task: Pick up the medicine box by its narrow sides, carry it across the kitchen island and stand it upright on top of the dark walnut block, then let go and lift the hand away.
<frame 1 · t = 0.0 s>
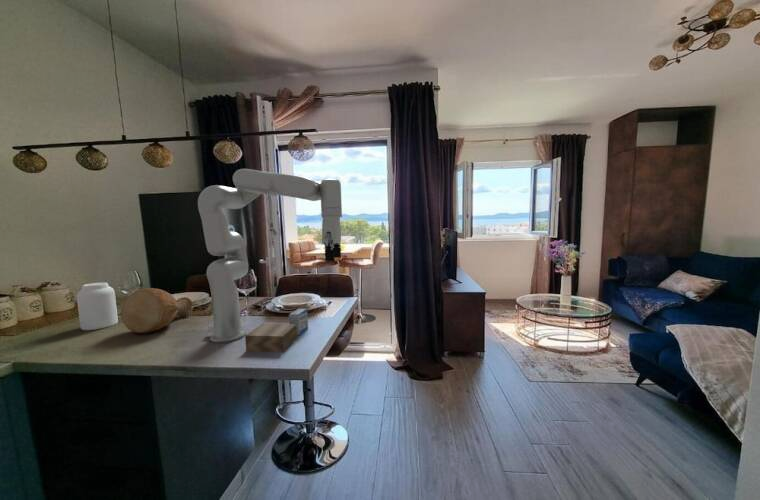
hand: (333, 259, 108), 31 cm above the table, fingers open, 9 cm apart
medicine box: (299, 331, 120), on the table
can: (100, 326, 132), on the table
jug: (164, 325, 131), on the table
walnut block: (273, 345, 107), on the table
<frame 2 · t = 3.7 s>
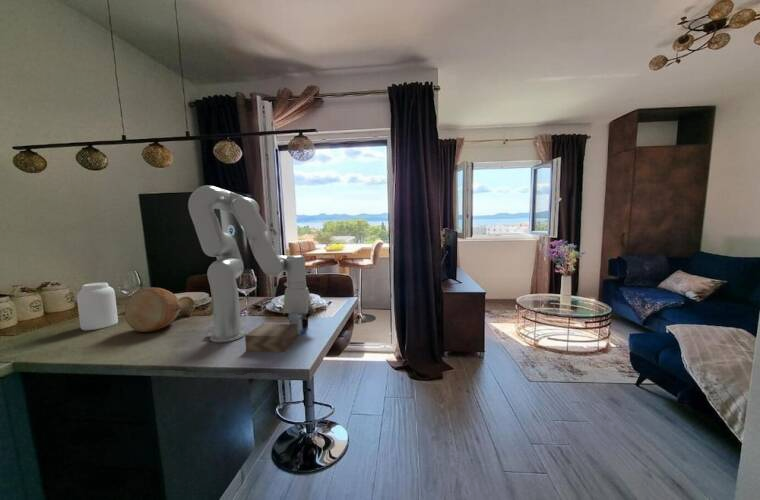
hand: (299, 327, 119), 2 cm above the table, fingers closed on medicine box, 4 cm apart
medicine box: (299, 331, 120), on the table, touching gripper
jug: (167, 324, 133), on the table
everything else where it was.
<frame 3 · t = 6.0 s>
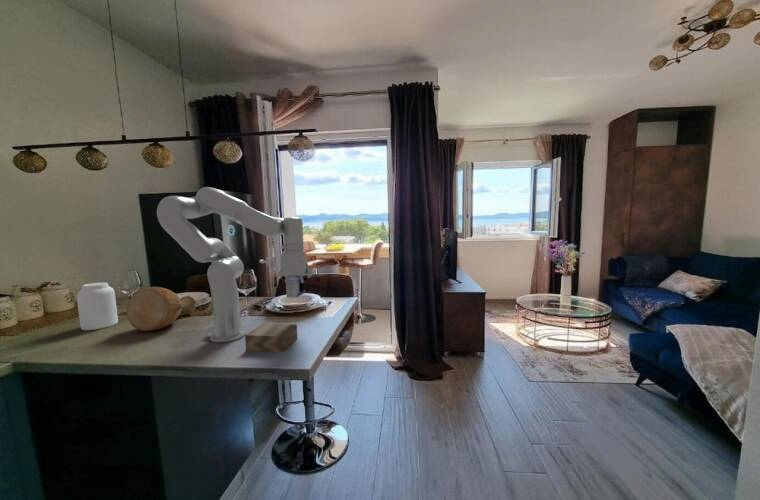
hand: (295, 291, 118), 17 cm above the table, fingers closed on medicine box, 4 cm apart
medicine box: (296, 295, 118), point 15 cm above the table, touching gripper
when the fingers open (9 cm above the table, at t = 8.7 s): medicine box drops 2 cm, resting on walnut block.
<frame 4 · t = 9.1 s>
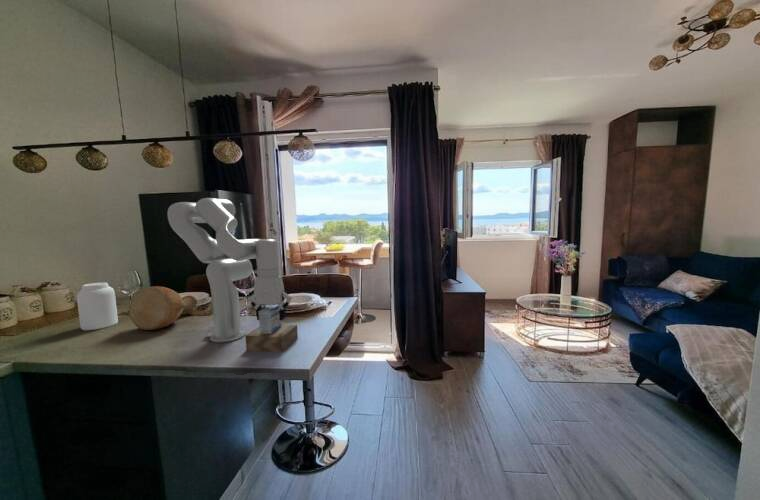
hand: (271, 318, 106), 10 cm above the table, fingers open, 8 cm apart
medicine box: (270, 330, 107), point 5 cm above the table, touching walnut block
jug: (170, 323, 135), on the table
walnut block: (273, 345, 107), on the table, touching medicine box
everything else where it was.
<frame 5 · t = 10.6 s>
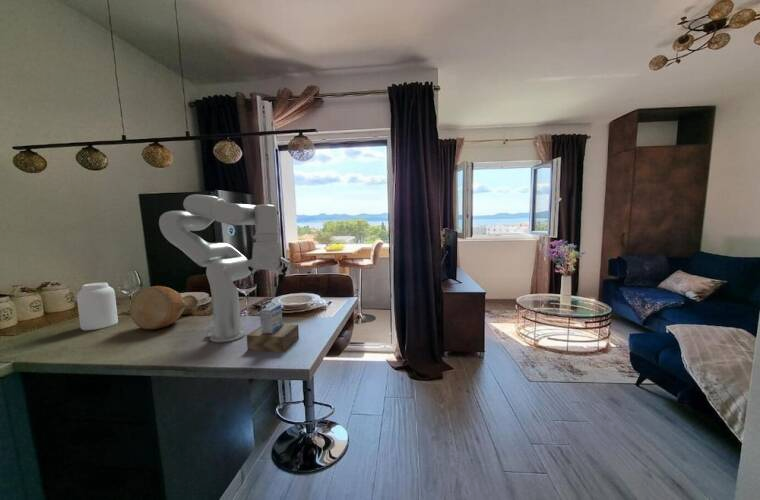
hand: (269, 284, 107), 23 cm above the table, fingers open, 9 cm apart
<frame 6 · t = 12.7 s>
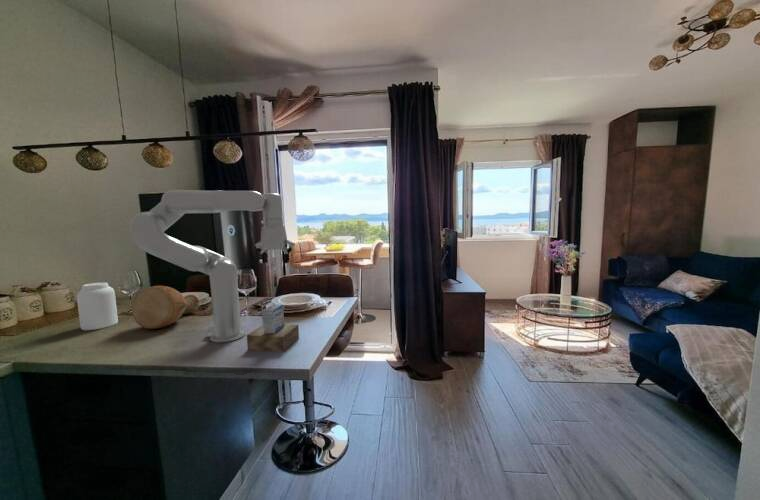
hand: (275, 262, 123), 28 cm above the table, fingers open, 9 cm apart
at the end: medicine box inside the target area on the walnut block (0.4 cm from its centre), point 5.8 cm above the walnut block's base; medicine box tilted 0°; the gripper is holding nothing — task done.
